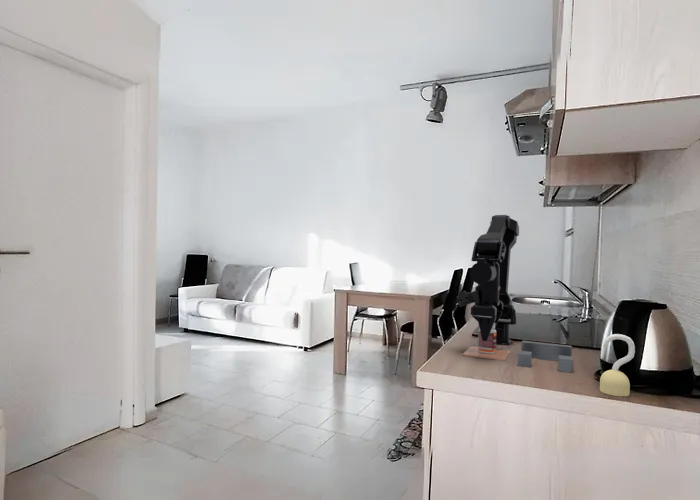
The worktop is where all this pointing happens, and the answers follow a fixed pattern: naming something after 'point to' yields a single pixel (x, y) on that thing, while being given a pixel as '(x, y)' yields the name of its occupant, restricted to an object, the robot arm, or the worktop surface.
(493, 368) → the worktop surface
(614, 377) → the hook
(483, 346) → the pill bottle
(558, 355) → the vise
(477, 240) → the robot arm
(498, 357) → the tile
